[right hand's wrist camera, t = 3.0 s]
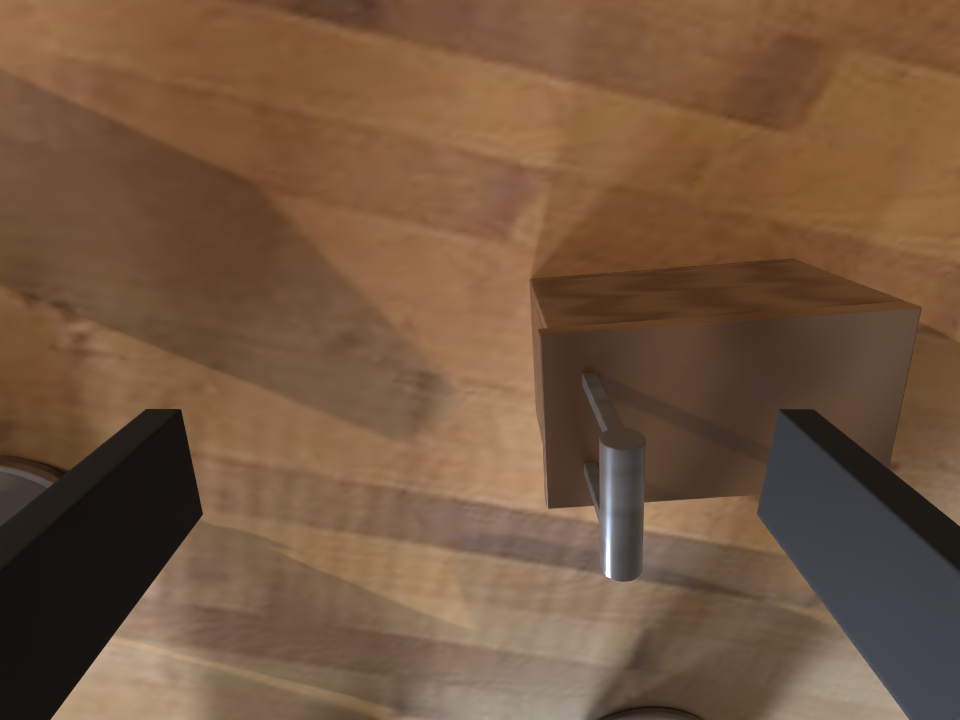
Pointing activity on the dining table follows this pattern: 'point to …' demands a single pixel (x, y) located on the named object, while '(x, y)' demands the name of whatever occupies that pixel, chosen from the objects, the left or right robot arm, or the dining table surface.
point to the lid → (706, 404)
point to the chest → (687, 296)
